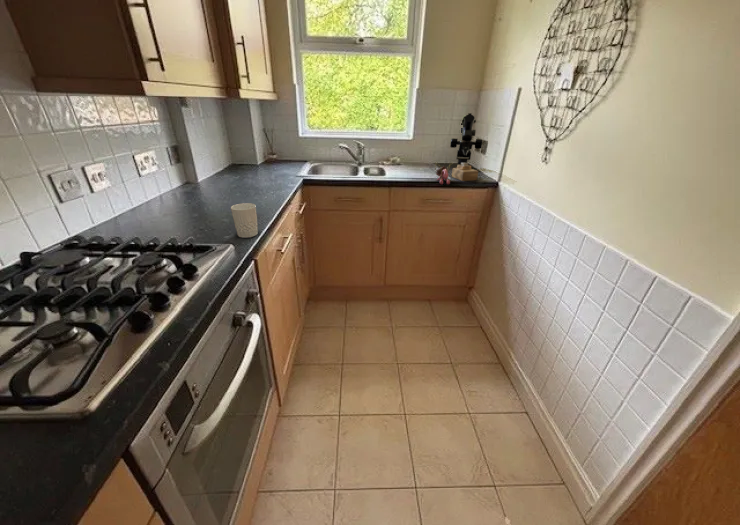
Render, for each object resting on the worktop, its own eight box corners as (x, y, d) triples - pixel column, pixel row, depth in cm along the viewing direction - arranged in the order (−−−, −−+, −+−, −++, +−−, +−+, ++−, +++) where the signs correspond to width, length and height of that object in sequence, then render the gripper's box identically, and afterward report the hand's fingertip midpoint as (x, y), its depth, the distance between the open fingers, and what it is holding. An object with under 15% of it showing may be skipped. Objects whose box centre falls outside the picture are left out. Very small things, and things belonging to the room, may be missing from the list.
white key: (460, 165, 198) (461, 162, 197) (465, 165, 199) (465, 162, 198) (463, 166, 196) (463, 163, 195) (467, 166, 196) (468, 163, 196)
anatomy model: (437, 180, 178) (436, 155, 182) (433, 192, 191) (432, 169, 195) (456, 180, 178) (455, 155, 182) (450, 192, 191) (449, 169, 195)
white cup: (243, 240, 110) (238, 211, 105) (231, 234, 114) (226, 206, 110) (264, 234, 115) (260, 206, 111) (252, 228, 120) (247, 201, 115)
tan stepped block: (451, 176, 201) (452, 165, 198) (465, 175, 204) (467, 164, 201) (462, 181, 191) (463, 168, 188) (477, 180, 194) (478, 167, 191)
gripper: (452, 124, 199) (450, 145, 194) (485, 124, 195) (483, 147, 191) (451, 136, 209) (449, 157, 204) (481, 137, 206) (480, 158, 201)
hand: (465, 155), depth 200 cm, fingers closed
